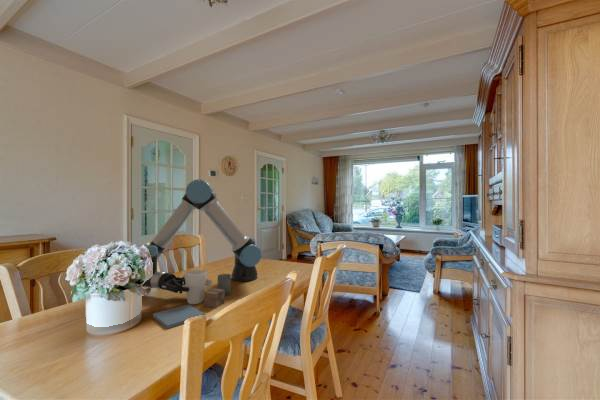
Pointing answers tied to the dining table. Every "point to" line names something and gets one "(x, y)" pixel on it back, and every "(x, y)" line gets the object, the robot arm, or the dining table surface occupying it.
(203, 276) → the foam cup
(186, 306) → the slate board
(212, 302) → the walnut block
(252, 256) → the robot arm
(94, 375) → the dining table surface
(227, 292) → the charcoal cylinder
